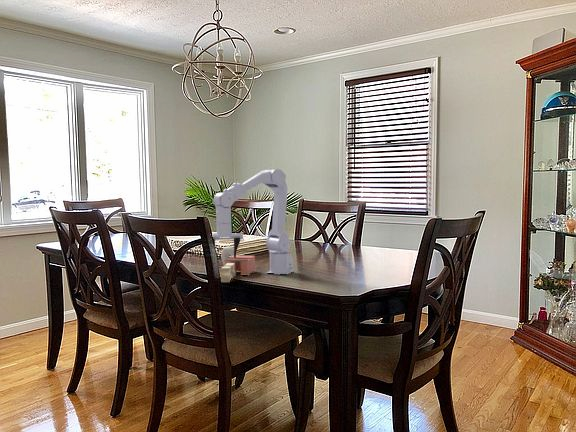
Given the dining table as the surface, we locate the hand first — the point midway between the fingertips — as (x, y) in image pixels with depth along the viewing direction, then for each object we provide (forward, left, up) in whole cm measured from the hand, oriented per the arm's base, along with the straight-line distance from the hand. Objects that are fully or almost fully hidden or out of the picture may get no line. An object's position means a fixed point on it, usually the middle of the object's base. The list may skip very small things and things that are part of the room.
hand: (225, 257), depth 190 cm
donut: (+14, -26, -10) cm, 31 cm away
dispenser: (+3, -16, -10) cm, 19 cm away
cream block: (+2, -5, -10) cm, 11 cm away
